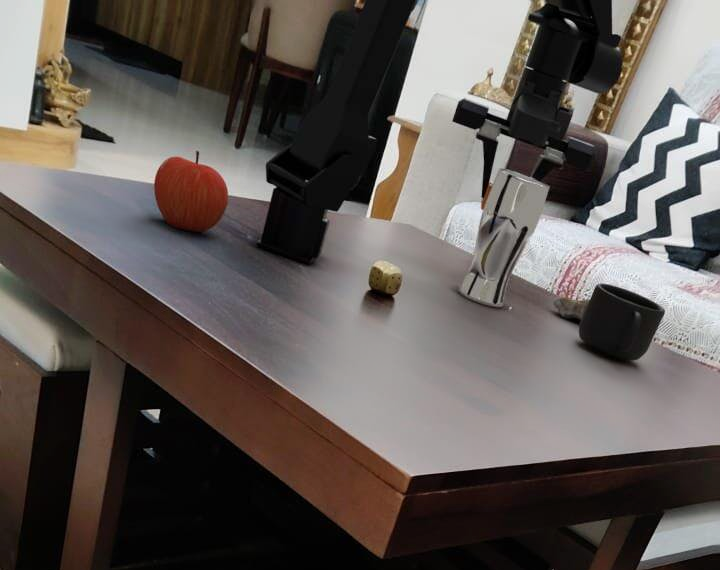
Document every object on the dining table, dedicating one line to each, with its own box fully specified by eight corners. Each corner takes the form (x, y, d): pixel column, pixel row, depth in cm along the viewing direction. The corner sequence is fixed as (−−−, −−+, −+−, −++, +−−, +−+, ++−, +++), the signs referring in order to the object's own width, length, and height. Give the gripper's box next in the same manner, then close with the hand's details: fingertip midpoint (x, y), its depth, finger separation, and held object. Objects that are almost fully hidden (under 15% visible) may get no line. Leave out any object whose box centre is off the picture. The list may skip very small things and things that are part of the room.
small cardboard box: (480, 209, 129) (488, 184, 127) (480, 202, 135) (488, 178, 133) (514, 220, 129) (523, 196, 127) (513, 213, 135) (521, 190, 133)
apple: (150, 227, 106) (165, 147, 102) (146, 209, 112) (159, 133, 108) (223, 246, 109) (240, 170, 105) (215, 227, 115) (231, 154, 111)
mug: (567, 331, 128) (591, 277, 124) (632, 353, 129) (656, 299, 125) (582, 358, 117) (608, 299, 114) (652, 381, 119) (679, 324, 115)
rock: (631, 337, 138) (577, 296, 141) (652, 301, 134) (596, 260, 136) (598, 354, 133) (543, 311, 136) (619, 317, 128) (562, 273, 131)
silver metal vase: (503, 313, 125) (551, 189, 117) (452, 293, 125) (496, 169, 117) (507, 303, 131) (552, 185, 123) (457, 284, 131) (499, 165, 123)
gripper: (475, 48, 116) (430, 187, 124) (623, 103, 117) (570, 237, 125) (475, 48, 125) (434, 177, 133) (613, 99, 127) (563, 224, 135)
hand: (499, 203), depth 131 cm, fingers closed on small cardboard box, 4 cm apart
